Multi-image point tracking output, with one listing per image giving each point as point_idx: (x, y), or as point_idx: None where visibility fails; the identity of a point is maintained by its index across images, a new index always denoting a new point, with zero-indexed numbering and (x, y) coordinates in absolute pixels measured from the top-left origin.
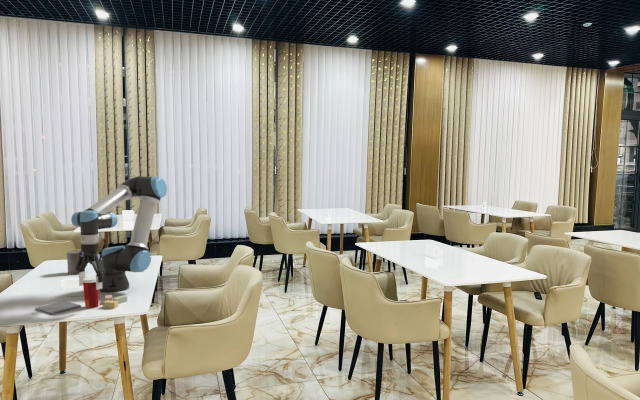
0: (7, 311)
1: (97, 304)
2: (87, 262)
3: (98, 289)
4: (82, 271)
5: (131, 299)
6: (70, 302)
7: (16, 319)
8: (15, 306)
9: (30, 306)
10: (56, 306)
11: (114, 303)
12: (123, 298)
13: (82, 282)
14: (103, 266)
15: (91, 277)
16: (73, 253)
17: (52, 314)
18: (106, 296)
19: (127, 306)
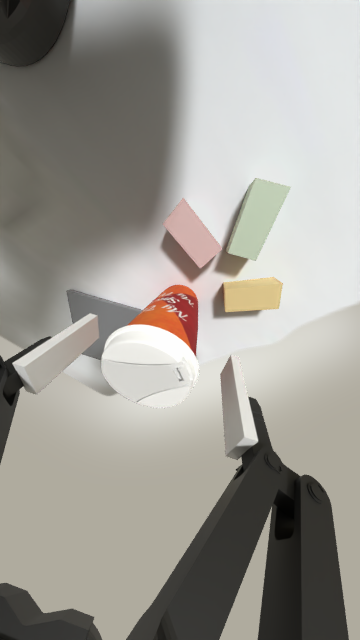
0: None
1: (197, 303)
2: (28, 594)
3: (194, 327)
4: (15, 374)
5: (283, 138)
6: (98, 301)
7: (114, 392)
8: (27, 341)
9: (48, 335)
10: (104, 337)
11: (277, 307)
12: (274, 216)
13: (89, 336)
14: (346, 632)
15: (131, 368)
16: None
17: None
18: (181, 239)
19: (314, 263)
